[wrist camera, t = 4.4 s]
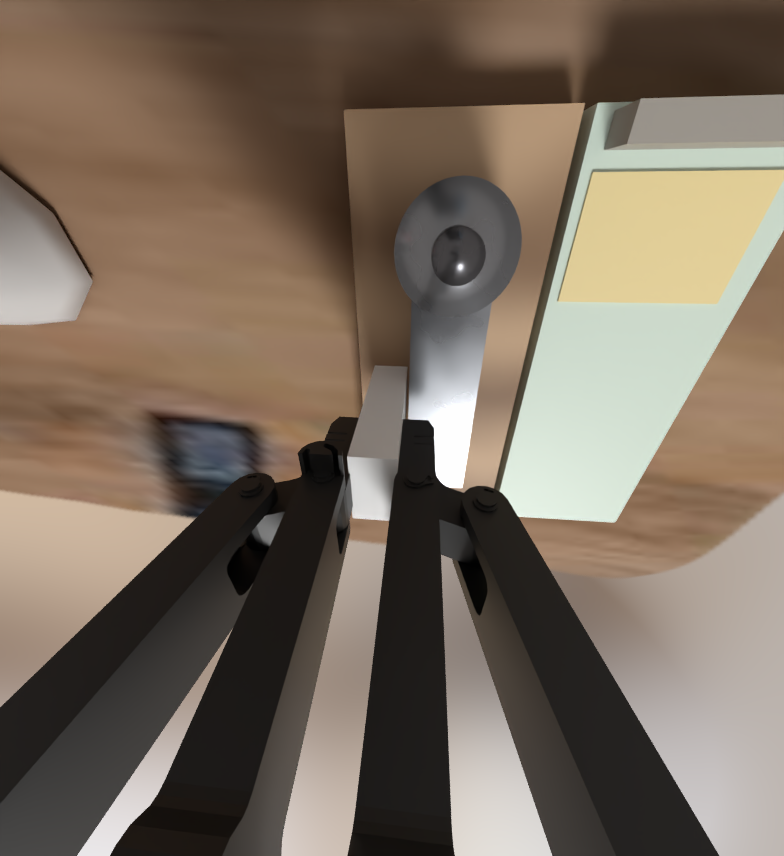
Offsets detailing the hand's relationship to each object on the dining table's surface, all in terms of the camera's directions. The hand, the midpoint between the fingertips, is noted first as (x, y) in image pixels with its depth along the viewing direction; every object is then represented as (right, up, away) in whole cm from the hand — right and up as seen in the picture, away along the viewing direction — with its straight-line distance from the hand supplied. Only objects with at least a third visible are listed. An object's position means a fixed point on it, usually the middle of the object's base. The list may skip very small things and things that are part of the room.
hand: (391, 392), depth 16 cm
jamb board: (+3, +2, +2) cm, 4 cm away
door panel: (+11, +1, +1) cm, 11 cm away
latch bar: (+2, +2, 0) cm, 3 cm away
